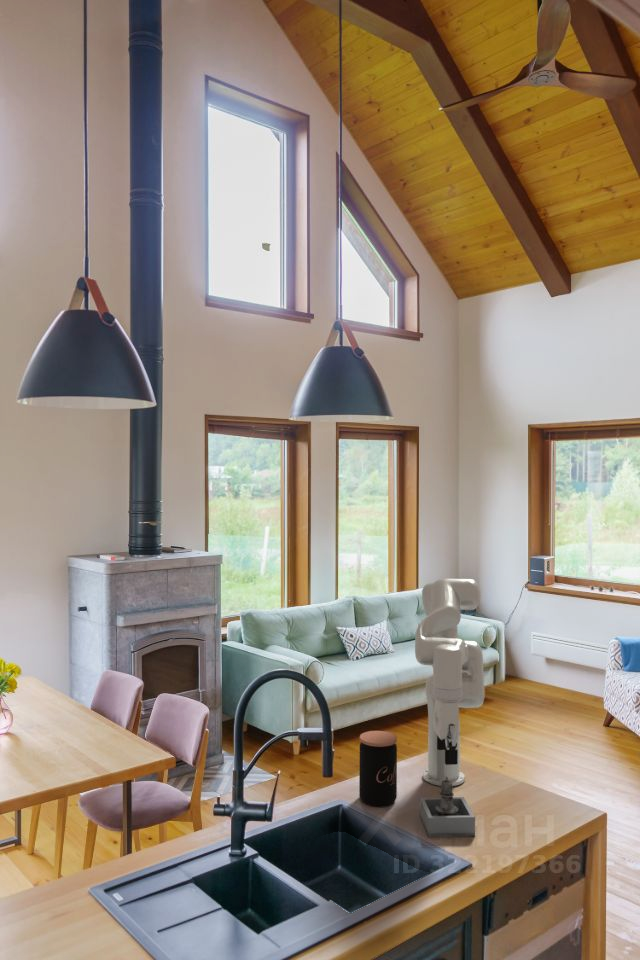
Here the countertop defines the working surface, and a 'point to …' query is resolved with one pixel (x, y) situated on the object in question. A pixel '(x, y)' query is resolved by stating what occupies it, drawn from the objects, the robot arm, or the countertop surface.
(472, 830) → the bin
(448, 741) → the robot arm
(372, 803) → the coffee jar
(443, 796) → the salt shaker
